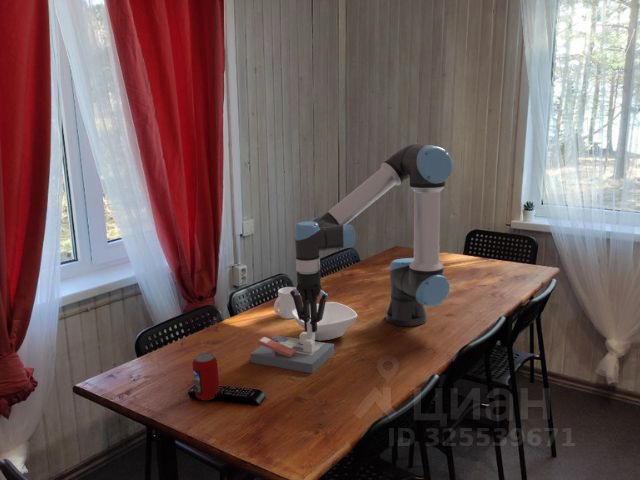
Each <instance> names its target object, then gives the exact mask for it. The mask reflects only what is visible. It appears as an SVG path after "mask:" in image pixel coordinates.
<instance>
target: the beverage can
mask: <svg viewBox="0 0 640 480" xmlns="http://www.w3.org/2000/svg"><path fill="white" fill-rule="evenodd" d="M218 368H219V367H218V359H217V358H216V357H215V354H214V353H212V352H201V353H198V354H196V355H195V356H194V359H193V361H192V373H193V383H194V384H193V385H194V393H195V397H196V398H197V399H199V400H201V401H210V400H213V399H215V398H216V397H215V394H217V393H218V392H219V390H220V380H219V379H220V377H219V369H218ZM214 397H215V398H214Z"/></svg>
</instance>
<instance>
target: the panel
mask: <svg viewBox="0 0 640 480" xmlns="http://www.w3.org/2000/svg"><path fill="white" fill-rule="evenodd" d="M269 339H271V340H273V341H275V342H278V343H280V344H282V345H285V346H287V347H289V348H292V349H294V350H296V352H295V354H294V355H292V356H291V357H288V356H286V355H283V354H281V353H279V352H276V351H274V350H272V349H269V348H267V347H265V346H262V345H260V346H259V347H258V348H256V349H254V350H253V351H252V352H250V355H249V356H250V363H251V364H257V365H263V366H264V365H265V366H269V367H270V366H271V367H276V368H279V369H280V368H281V369H286V370H292V371H295V372H296V371H298V372H303V373H308V374H314V373H315V372H316V371H317V370H318V369H319V368H320V367H321V366H322V365H324V363H326V361H327V360H329V359H330V358H331V357H332V356H333V355H334V354H335V344H334V343H330V342H322V341H318V340H314V341H315V351H313V352H312V353H310V352H304V351H303V344H300V338H295V337H290V336H283V335H276V334H275V335H273V336H272V337H270V338H269Z"/></svg>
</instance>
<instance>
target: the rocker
mask: <svg viewBox="0 0 640 480" xmlns="http://www.w3.org/2000/svg"><path fill="white" fill-rule="evenodd" d="M256 343H257V345H260V346H261V345H262V346H265V347H267V348H269V349H272V350H274V351H276V352H279V353H281V354H283V355H286V356H288V357H291V356H292V355H294V354H295V352H296V350H294V349H292V348H289V347H287V346H285V345H282V344H280V343H278V342H275V341H273V340H271V339H270V338H268V337H266V336H262V337H261V338H259V339H258V340H257V342H256Z"/></svg>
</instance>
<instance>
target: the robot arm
mask: <svg viewBox="0 0 640 480" xmlns="http://www.w3.org/2000/svg"><path fill="white" fill-rule="evenodd" d="M452 171H453V161H452V157H451V155H450V154H449V152H448V151H446V150H445V148H442V147H439V146H437V145H428V144H414V143H413V144H409V145H406V146H404V147H402V148H401V149H399V150H397V152H395V153H393V154H392V155H391V156H390V157H388V158H387V159H386V160H385V161H383V162H382V163H381V166H380V168H379V169H378V170H377V171H376V172H375V173H373V174H372V175H371V176H370V177H368V178H367V179H366V180H364V181H363V183H361V184H360V185H358V186H357V187H356V188H355V189H354V190H353V191H351V192H350V193H349V194H347V195H346V196H345V197H344V198H343V199H342V200H340V201H339V202H338V203H336V204H335V205H334V206H333V207H332V208H330V209H329V210H328V211H327V212H325V213H324V214H323V215H321V216H319V217H313V218H312V219H311V220H310V221H301V222H298V223H296V224H295V225H294V246H295V247H294V249H295V269H296V271H297V272H296V284H297V285H296V289H294V290H292V291H291V292H290V294H291V295H292V297H293V299H294V303H295V307H296V310H297V314H298V318H299V320H303V321H304V324H305V329H304V332H306V331H307V339H310V340H314V341H316V339H315V332H316V331H317V322H319V321H320V320H322V318H323V313H324V308H325V303H326V302H327V299H328V298H329V296H330V294H329V292H325V291H324V290H323V287H322V285H321V279H322V278H321V277H322V276H321V271H320V270H321V263H320V262H321V261H320V260H321V255H320V252H324V251H325V252H326V251H332V250H334V251H335V250H341V249H342V250H345V249H348V248H353V247H354V246H355V244H356V241H357V235H356V234H357V233H356V230H355V228H354V227H353V225H352V224H349V223H350V222H351V221H353V220H354V219H355V218H356V217H358V216H359V215H360V214H362V212H364V210H367V208H368V207H370V206H371V205H372V204H373V203H374V202H376V201H377V200H378V199H379V198H381V197H382V196H383V195H385V194H386V193H387V192H388V191H390V189H392V188H393V187H394V186H401V184H403V183H404V182H405V181H407V180H408V181H409V188H410V189H411V190H412V191H413V257H405V258H403V257H402V258H397V259H393V260H392V261H391V262H390V265H389V276H390V280H389V281H390V282H389V283H390V299H389V302H388V307H387V309H386V313H385V319H386V321H387V323H390V324H391V325H396V326H400V327H415V326H419V325H423V324H425V323H426V322H427V321H428V312H427V309H426V307H429V308H431V307H436V306H437V307H438V306H439V305H440V304H442V303H443V301H444V300H446V299H447V297H448V295H449V293H450V290H451V289H450V288H451V287H450V282H449V280H448V279H447V277H446V276H444V271H445V270H444V267H445V266H444V264H443V263H442V262H441V261H440V240H441V239H440V232H441V230H440V227H441V192H442V191H443V189H444V188H446V181H447V179H449V176H451V174H452ZM299 293H300V295H299ZM318 297H319V301H318ZM318 303H319V306H318V311H317V304H318ZM425 306H426V307H425ZM310 314H311V318H310ZM310 319H311V320H310Z"/></svg>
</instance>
